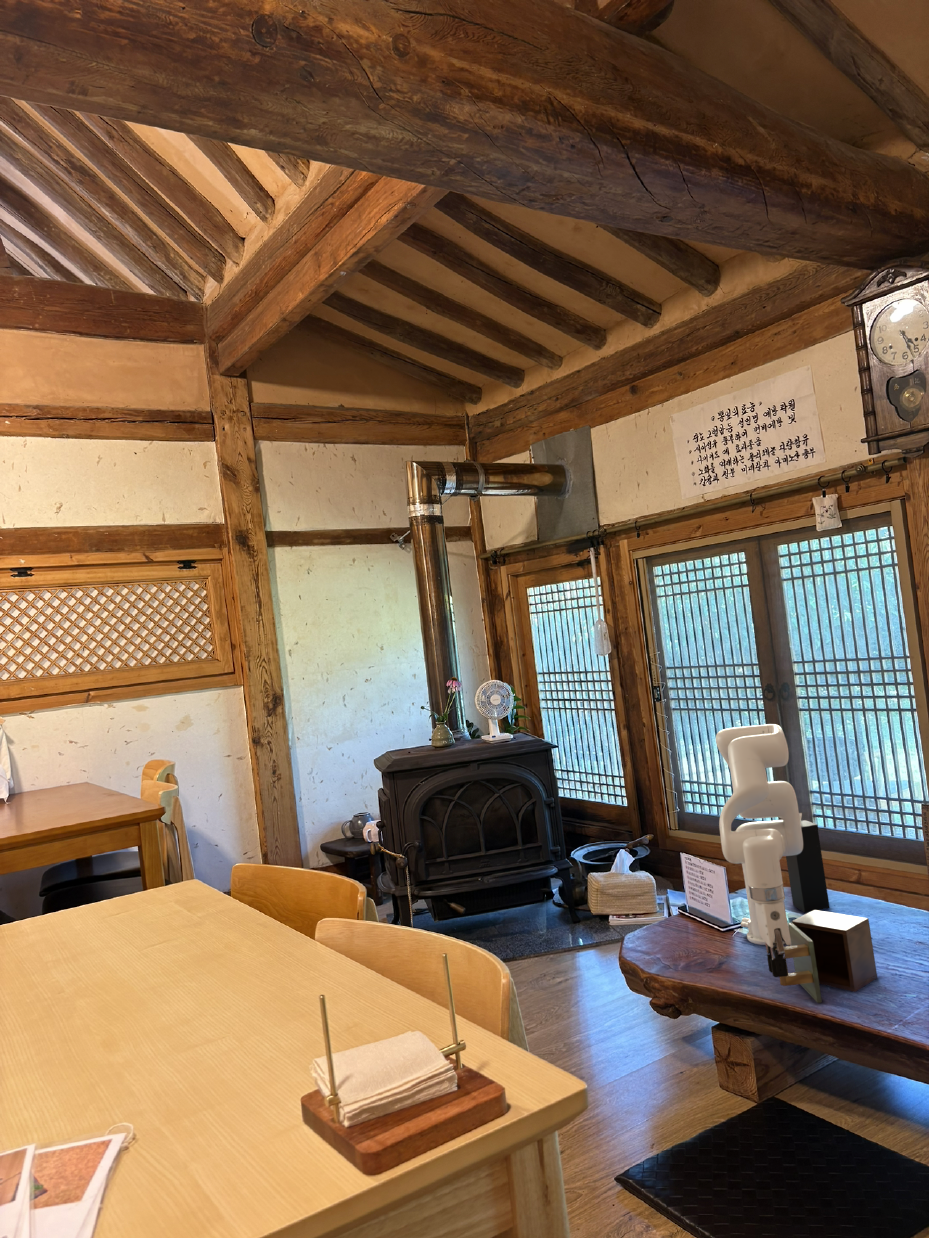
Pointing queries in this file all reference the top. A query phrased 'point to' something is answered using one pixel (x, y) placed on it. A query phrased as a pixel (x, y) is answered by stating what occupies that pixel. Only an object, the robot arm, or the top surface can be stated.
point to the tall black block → (808, 872)
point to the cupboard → (840, 948)
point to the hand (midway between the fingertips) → (778, 973)
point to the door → (802, 963)
